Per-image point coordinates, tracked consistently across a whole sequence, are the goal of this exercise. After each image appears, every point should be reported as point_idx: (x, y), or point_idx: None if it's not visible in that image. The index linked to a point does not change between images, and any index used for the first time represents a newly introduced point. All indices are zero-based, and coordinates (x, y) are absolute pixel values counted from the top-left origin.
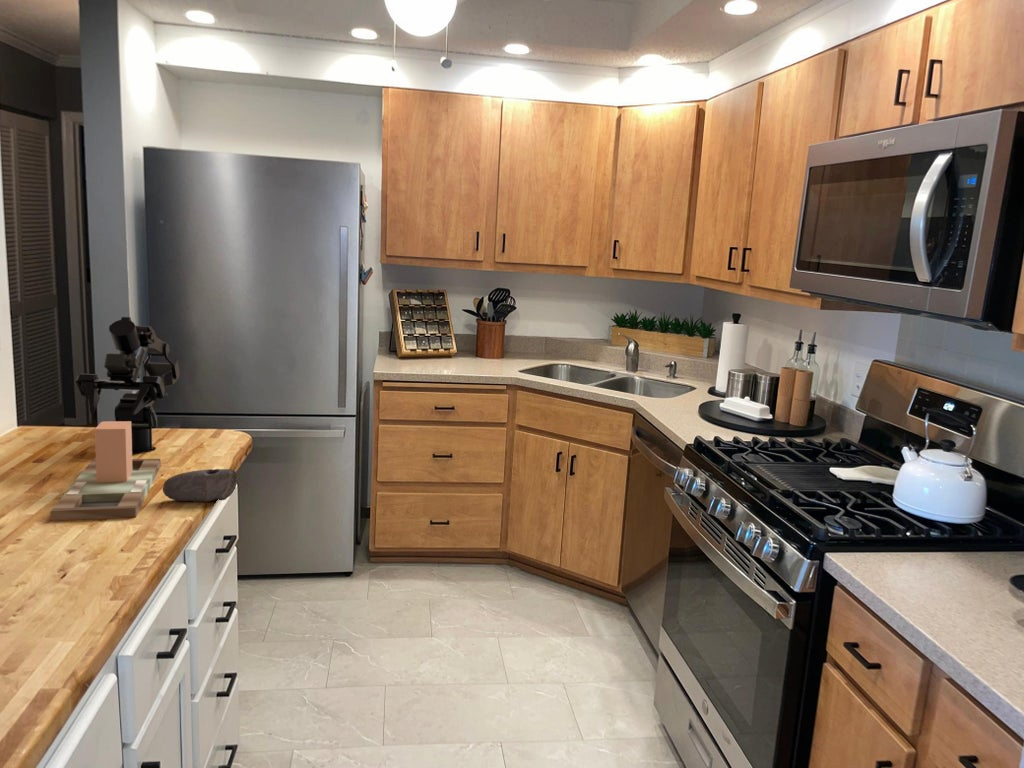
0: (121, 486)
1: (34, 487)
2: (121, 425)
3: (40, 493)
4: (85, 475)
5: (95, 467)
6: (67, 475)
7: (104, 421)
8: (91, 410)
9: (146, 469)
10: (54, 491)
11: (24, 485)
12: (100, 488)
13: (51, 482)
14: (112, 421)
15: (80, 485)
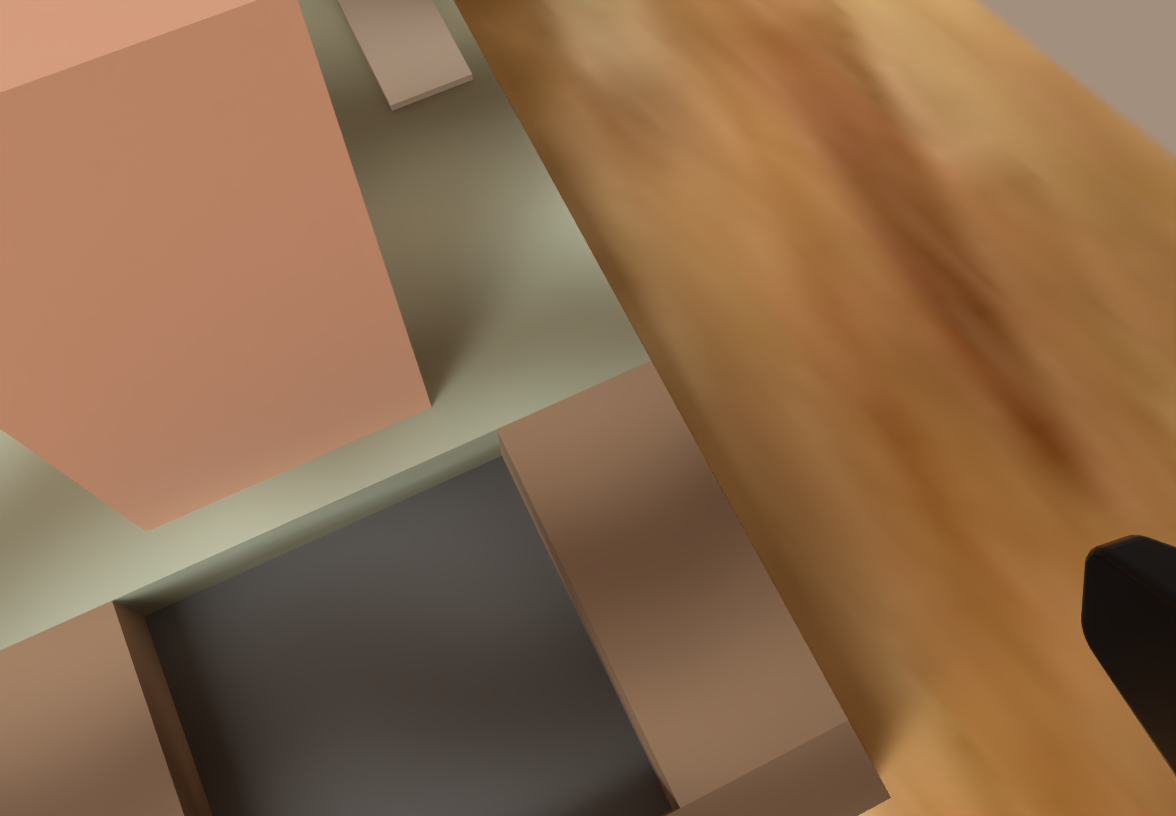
0: None
1: (874, 119)
2: None
3: (714, 25)
4: (538, 271)
5: (633, 535)
6: (892, 478)
7: (241, 2)
8: (1116, 552)
9: (35, 672)
10: (650, 89)
11: (989, 134)
12: None
13: (855, 261)
14: (86, 60)
15: (372, 14)
